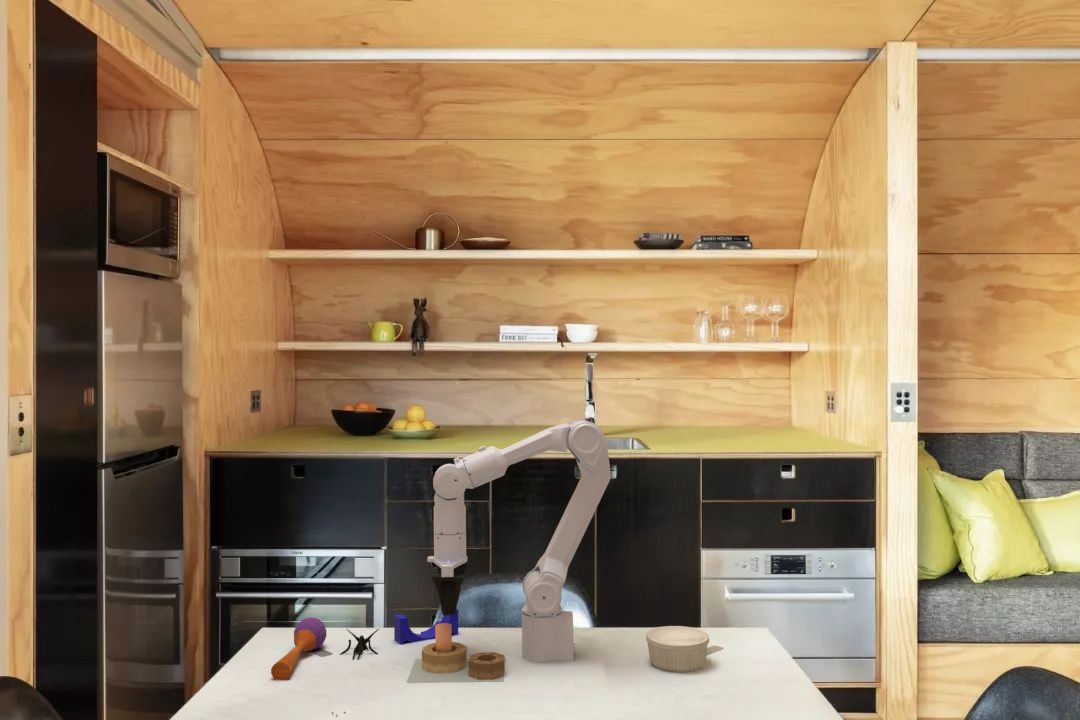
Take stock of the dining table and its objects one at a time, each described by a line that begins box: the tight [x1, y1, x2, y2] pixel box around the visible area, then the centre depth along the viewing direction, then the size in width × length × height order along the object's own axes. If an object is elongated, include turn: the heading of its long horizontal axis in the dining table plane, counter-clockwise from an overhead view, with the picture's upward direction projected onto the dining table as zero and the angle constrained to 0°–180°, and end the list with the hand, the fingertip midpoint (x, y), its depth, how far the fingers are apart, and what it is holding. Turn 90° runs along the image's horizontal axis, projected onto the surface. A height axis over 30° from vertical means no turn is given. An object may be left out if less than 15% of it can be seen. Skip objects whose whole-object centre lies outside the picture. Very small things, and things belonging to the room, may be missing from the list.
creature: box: [339, 628, 380, 661], centre depth 159 cm, size 8×5×8 cm
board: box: [406, 657, 506, 684], centre depth 150 cm, size 16×12×1 cm
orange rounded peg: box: [434, 623, 453, 653], centre depth 152 cm, size 3×3×7 cm
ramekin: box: [645, 625, 710, 673], centre depth 156 cm, size 11×11×5 cm
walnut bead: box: [468, 651, 506, 680], centre depth 148 cm, size 6×6×3 cm
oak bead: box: [421, 641, 468, 674], centre depth 152 cm, size 8×8×3 cm
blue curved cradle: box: [393, 608, 459, 646], centre depth 169 cm, size 12×4×6 cm, turn 120°
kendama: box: [270, 617, 327, 681], centre depth 159 cm, size 6×6×20 cm
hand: (450, 608), depth 156 cm, fingers open, 7 cm apart
